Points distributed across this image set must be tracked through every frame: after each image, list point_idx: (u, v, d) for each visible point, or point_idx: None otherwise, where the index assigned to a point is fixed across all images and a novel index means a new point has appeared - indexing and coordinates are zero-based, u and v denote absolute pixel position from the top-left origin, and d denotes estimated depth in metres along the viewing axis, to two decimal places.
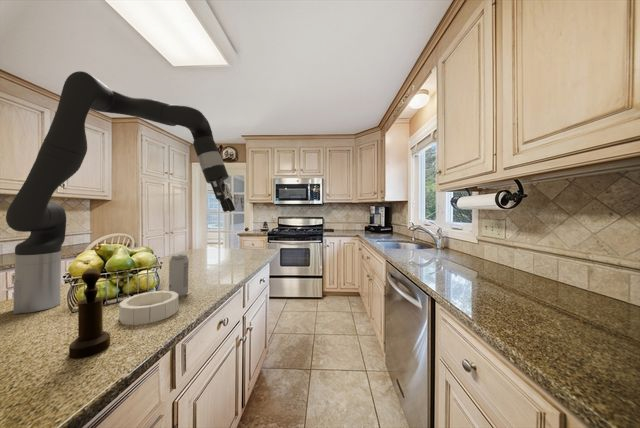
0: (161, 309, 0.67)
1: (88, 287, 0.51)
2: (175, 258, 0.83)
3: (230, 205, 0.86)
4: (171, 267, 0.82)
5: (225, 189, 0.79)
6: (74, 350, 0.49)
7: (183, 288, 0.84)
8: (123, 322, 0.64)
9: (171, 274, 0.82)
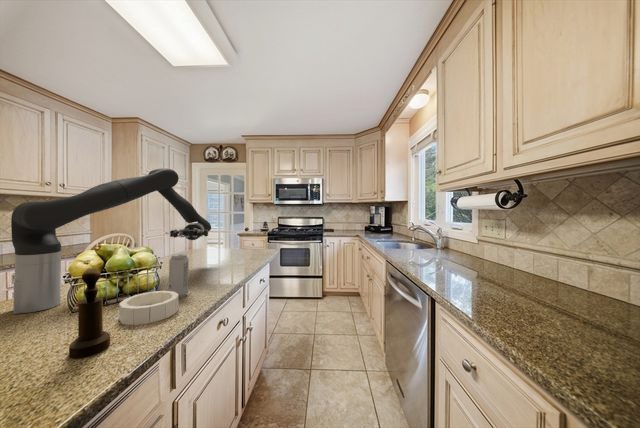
0: (161, 309, 0.67)
1: (88, 287, 0.51)
2: (175, 258, 0.83)
3: (177, 234, 0.96)
4: (171, 267, 0.82)
5: (197, 236, 1.03)
6: (74, 350, 0.49)
7: (183, 288, 0.84)
8: (123, 322, 0.64)
9: (171, 274, 0.82)
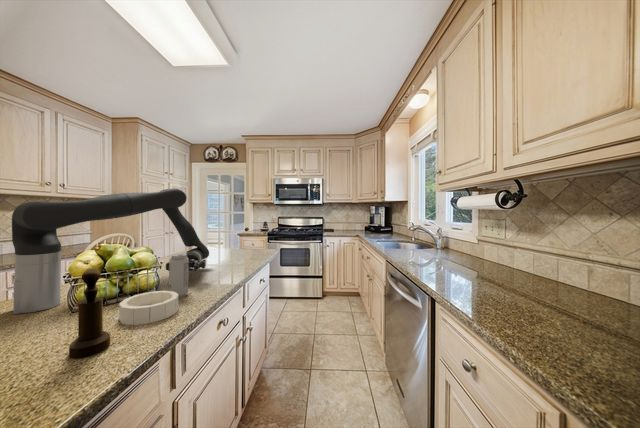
0: (161, 309, 0.67)
1: (88, 287, 0.51)
2: (175, 258, 0.83)
3: None
4: (171, 267, 0.82)
5: (194, 268, 0.99)
6: (74, 350, 0.49)
7: (183, 288, 0.84)
8: (123, 322, 0.64)
9: (171, 274, 0.82)
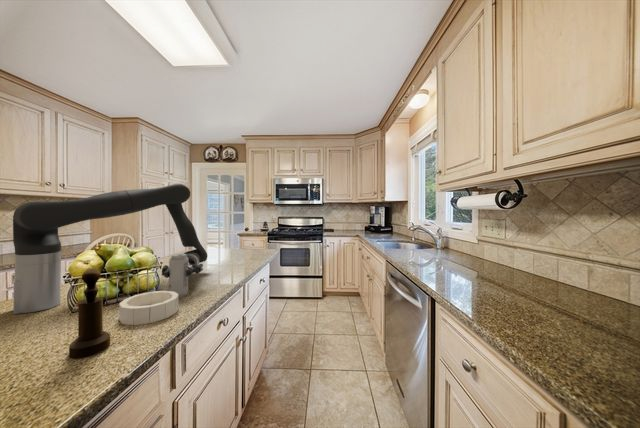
0: (161, 309, 0.67)
1: (88, 287, 0.51)
2: (174, 258, 0.83)
3: None
4: (171, 267, 0.82)
5: None
6: (74, 350, 0.49)
7: (183, 288, 0.84)
8: (123, 322, 0.64)
9: (171, 274, 0.82)
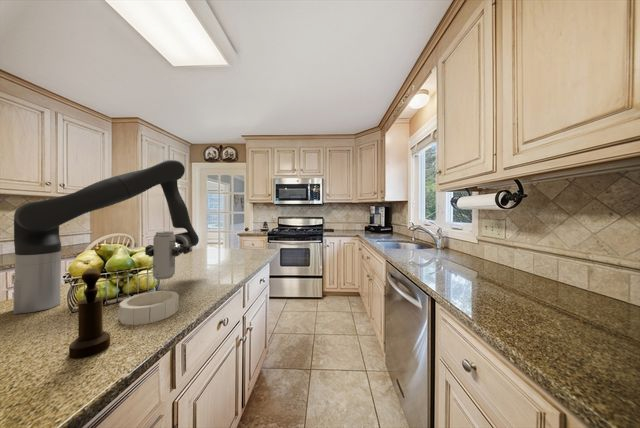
0: (161, 309, 0.67)
1: (88, 287, 0.51)
2: (159, 235, 0.74)
3: None
4: (155, 245, 0.74)
5: None
6: (74, 350, 0.49)
7: (169, 268, 0.75)
8: (123, 322, 0.64)
9: (155, 252, 0.74)
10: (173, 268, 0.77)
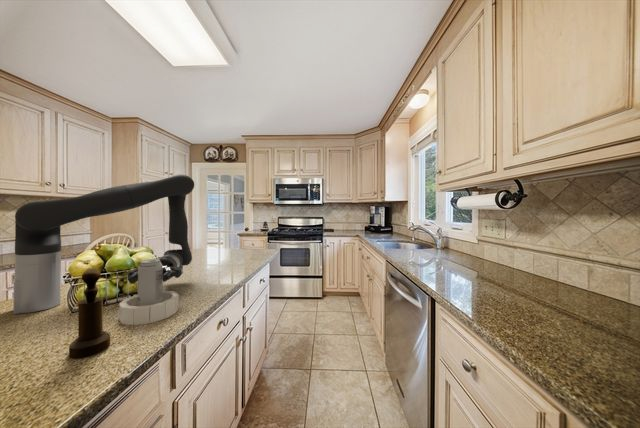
0: (161, 309, 0.67)
1: (88, 287, 0.51)
2: (144, 265, 0.68)
3: (136, 278, 0.69)
4: (140, 276, 0.67)
5: None
6: (74, 350, 0.49)
7: (156, 301, 0.69)
8: (123, 322, 0.64)
9: (140, 284, 0.67)
10: (160, 300, 0.71)
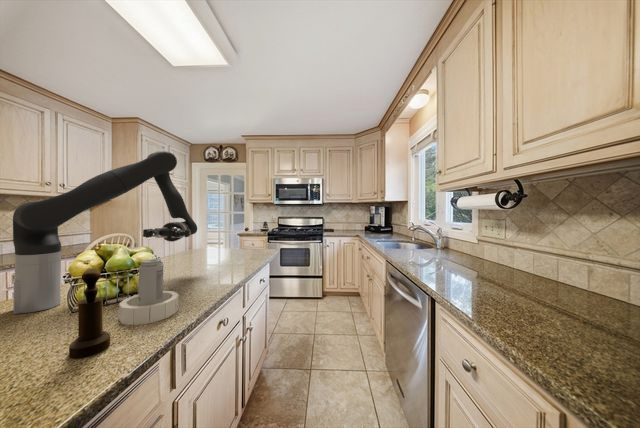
0: (161, 309, 0.67)
1: (88, 287, 0.51)
2: (145, 265, 0.68)
3: (150, 234, 0.80)
4: (141, 276, 0.68)
5: None
6: (74, 350, 0.49)
7: (156, 301, 0.69)
8: (123, 322, 0.64)
9: (141, 284, 0.68)
10: (161, 300, 0.71)
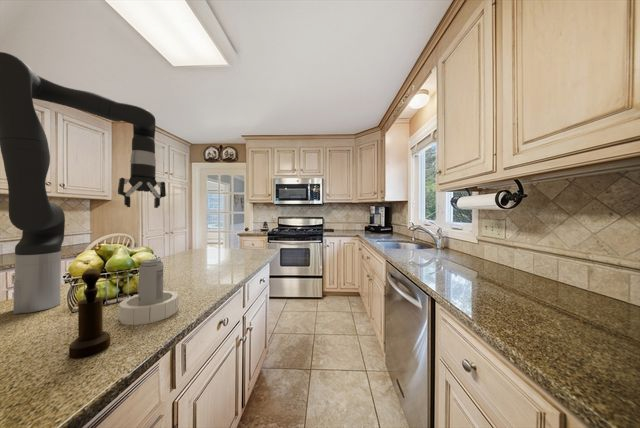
0: (161, 309, 0.67)
1: (88, 287, 0.51)
2: (145, 265, 0.68)
3: None
4: (141, 276, 0.68)
5: None
6: (74, 350, 0.49)
7: (156, 301, 0.69)
8: (123, 322, 0.64)
9: (141, 284, 0.68)
10: (161, 300, 0.71)
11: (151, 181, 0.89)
